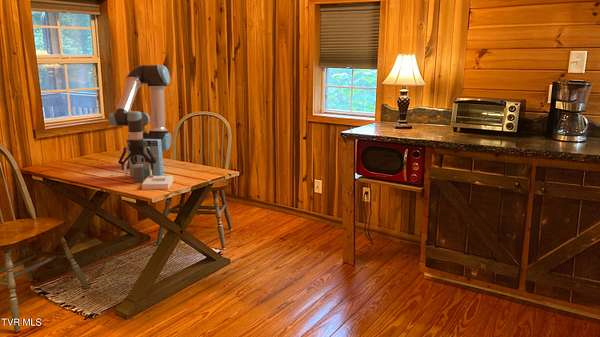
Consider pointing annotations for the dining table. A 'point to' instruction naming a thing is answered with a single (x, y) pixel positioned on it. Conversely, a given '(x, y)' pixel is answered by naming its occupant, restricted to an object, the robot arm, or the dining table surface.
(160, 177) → the socket
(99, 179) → the dining table surface
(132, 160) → the gum box
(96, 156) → the dining table surface
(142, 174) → the plug
